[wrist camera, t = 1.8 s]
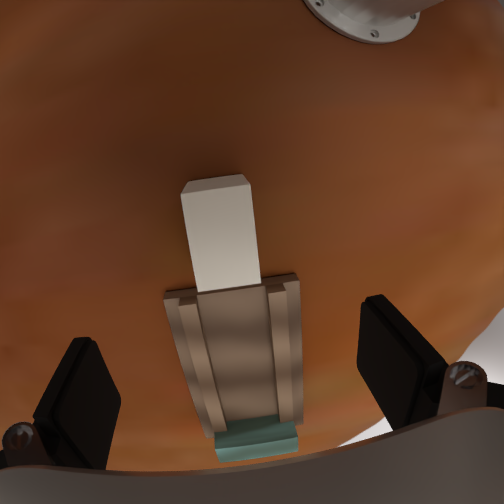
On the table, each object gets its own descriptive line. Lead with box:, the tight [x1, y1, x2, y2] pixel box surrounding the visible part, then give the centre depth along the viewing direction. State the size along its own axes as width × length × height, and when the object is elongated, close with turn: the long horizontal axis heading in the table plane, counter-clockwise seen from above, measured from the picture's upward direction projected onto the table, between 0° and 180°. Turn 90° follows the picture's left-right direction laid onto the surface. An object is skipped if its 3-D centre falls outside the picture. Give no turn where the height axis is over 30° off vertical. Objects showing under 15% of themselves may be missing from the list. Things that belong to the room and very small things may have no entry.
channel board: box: [163, 274, 303, 463], centre depth 30 cm, size 20×12×6 cm, turn 6°
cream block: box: [181, 174, 261, 292], centre depth 24 cm, size 7×4×6 cm, turn 6°
